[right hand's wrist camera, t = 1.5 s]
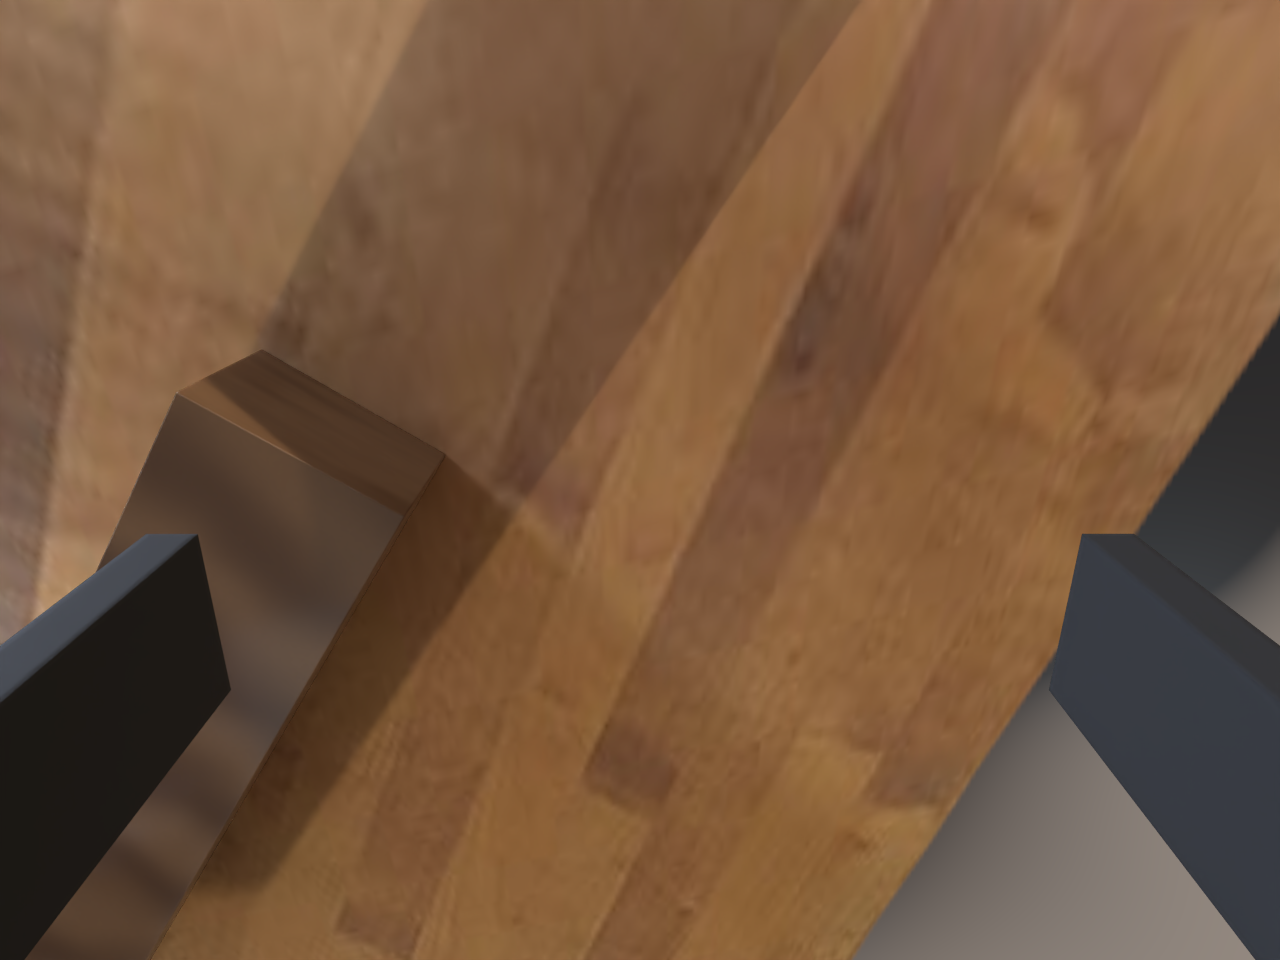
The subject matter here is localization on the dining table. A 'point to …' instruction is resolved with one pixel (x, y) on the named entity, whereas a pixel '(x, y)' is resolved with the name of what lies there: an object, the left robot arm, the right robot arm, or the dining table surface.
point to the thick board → (245, 608)
